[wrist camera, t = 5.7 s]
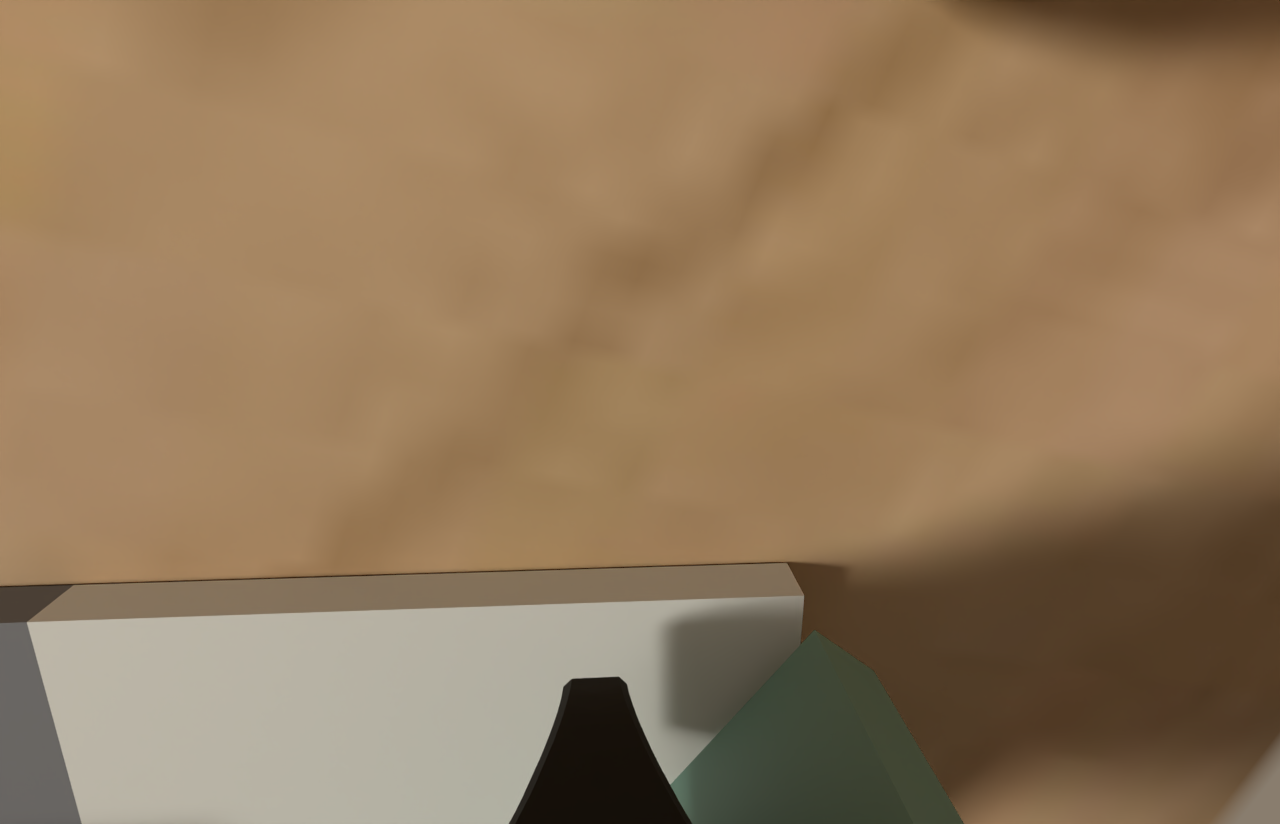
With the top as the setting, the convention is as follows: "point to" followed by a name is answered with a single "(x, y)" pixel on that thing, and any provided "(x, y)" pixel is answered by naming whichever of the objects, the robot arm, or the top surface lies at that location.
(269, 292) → the top surface
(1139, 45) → the top surface
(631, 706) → the robot arm
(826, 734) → the bar
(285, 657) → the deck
